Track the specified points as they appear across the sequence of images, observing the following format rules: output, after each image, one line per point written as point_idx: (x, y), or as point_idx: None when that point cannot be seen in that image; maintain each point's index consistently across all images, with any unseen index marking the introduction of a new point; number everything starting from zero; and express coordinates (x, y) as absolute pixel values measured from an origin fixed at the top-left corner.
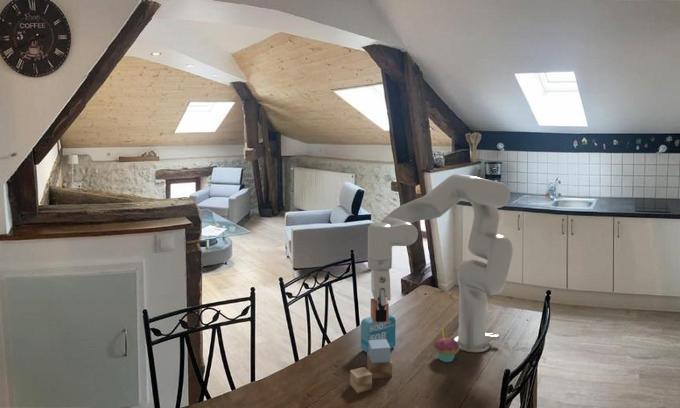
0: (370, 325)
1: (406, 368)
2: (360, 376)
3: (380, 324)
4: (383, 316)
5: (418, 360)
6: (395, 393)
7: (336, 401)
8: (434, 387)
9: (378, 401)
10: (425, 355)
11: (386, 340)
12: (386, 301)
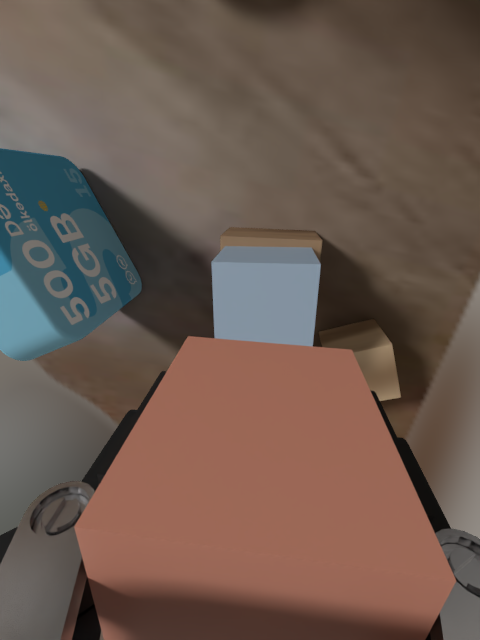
0: (68, 326)
1: (257, 150)
2: (394, 385)
3: (32, 259)
4: (417, 469)
5: (192, 66)
6: (431, 245)
7: (407, 423)
8: (450, 49)
9: (457, 314)
10: (144, 7)
11: (228, 265)
12: (282, 571)
